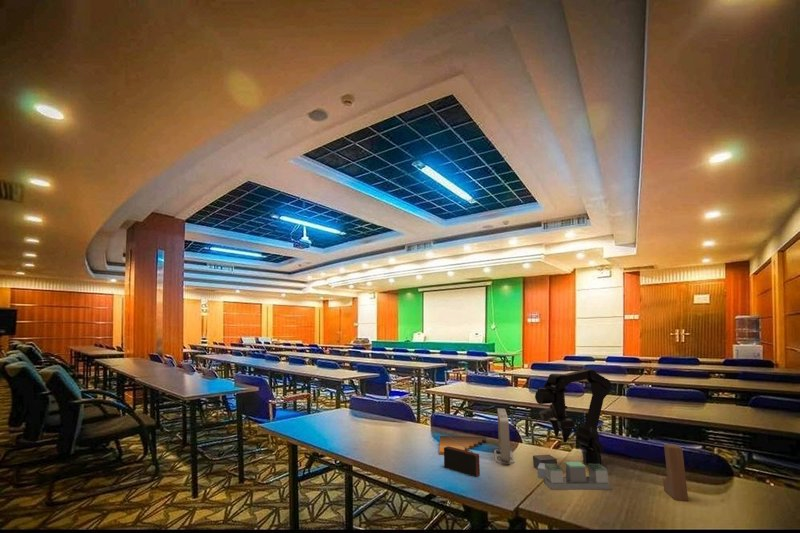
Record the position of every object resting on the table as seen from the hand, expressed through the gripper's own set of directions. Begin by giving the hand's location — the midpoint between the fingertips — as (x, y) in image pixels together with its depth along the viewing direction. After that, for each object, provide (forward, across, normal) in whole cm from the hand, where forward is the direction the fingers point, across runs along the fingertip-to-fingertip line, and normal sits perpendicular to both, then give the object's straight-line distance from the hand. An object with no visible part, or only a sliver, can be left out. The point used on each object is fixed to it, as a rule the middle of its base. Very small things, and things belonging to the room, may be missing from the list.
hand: (560, 439), depth 170 cm
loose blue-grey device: (+12, +9, -11) cm, 19 cm away
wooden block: (+12, +28, +30) cm, 43 cm away
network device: (+12, -15, -22) cm, 29 cm away
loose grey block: (+12, +1, -8) cm, 15 cm away
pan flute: (+13, -29, -39) cm, 50 cm away
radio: (+12, +3, -46) cm, 48 cm away
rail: (+12, +19, -2) cm, 23 cm away
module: (+10, +19, -2) cm, 22 cm away
